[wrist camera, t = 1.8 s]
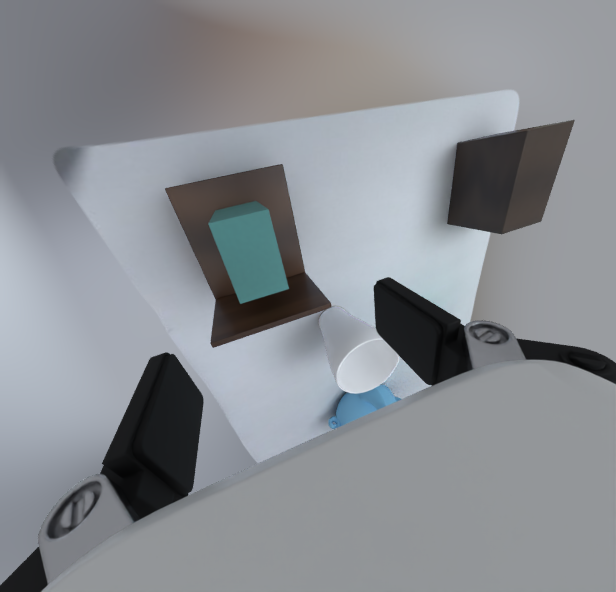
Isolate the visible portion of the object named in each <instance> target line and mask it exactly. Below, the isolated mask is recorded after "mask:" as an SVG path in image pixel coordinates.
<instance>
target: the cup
mask: <svg viewBox="0 0 616 592" xmlns="http://www.w3.org/2000/svg"><path fill="white" fill-rule="evenodd" d="M319 327H320V329H321V331H322V334H323V338H324V342H325V347H326V353H327V357H328V361H329V364H330V368H331V370H332V373H333V375H334V377H335V380H336V382H337V384H338V386H339V387H340V388H341V389H342V390H343V391H345V392H348V393H355V394H357V393H364V392H367V391H369V390H372V389H374V388H376V387H377V386H379V385H380V384H382V383H383V382H384V381H386V380H387V379H388V377H389V376H390V375H391V374H392V373H393V371H394V370H395V368H396V366H397V364H398V361H399V355H398V354H397V353H396V352H395V351H394V350H393V349H392V348H391V347H390V346H389V345H388V344H387V343H386V342H385V341H384V340H383V339H382V338H381V337H380V335H379V334H378V333H377V331H376V328H374V327H373V326H371V325H369V324H368V323H366V322H364V321H362V320H360V319H358V318H356V317H354V316H352V315H351V314H349V313H348V312H347V311H346V310H344V309H343V308H341V307H338V306H336V307H331V308H329V309H326V310H325V311H324V312H323V313H322V314H321V316H320V318H319Z"/></svg>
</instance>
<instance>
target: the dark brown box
mask: <svg viewBox="0 0 616 592" xmlns="http://www.w3.org/2000/svg"><path fill="white" fill-rule="evenodd" d="M573 124H574V120H571V121H566V122H560V123H555V124H549V125H544V126H539V127H533V128H528V129H522V130H516V131H511V132H505V133H500V134H495V135H490V136H486V137H481V138H477V139H472V140H468V141H463V142H459V143H458V144H457V152H456V160H455V168H454V176H453V184H452V192H451V200H450V208H449V215H448V223H447V224H450V225H456V226H461V227H466V228H471V229H477V230H482V231H487V232H493V233H498V234H504V233H507V232H510V231H513V230H516V229H519V228H522V227H525V226H529V225H532V224H535V223H538V222H541V220H542V217H543V214H544V211H545V208H546V205H547V202H548V199H549V196H550V193H551V190H552V187H553V184H554V181H555V178H556V175H557V172H558V169H559V165H560V163H561V160H562V157H563V154H564V151H565V148H566V145H567V142H568V139H569V136H570V132H571V130H572V127H573Z"/></svg>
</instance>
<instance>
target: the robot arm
mask: <svg viewBox="0 0 616 592" xmlns="http://www.w3.org/2000/svg"><path fill="white" fill-rule="evenodd" d="M374 302H375V322H376V331H377V333H378V334H379V335H380V337H381V338H382V339H383V340H384V341H385V342H386V343H387V344H388V345H389V346H390V347H391V348H392V349H393V350H394V351H395V352H396V353H397V354H398V355H399V356H400V357H401V358H402V359H403V360H404V361H405V362H406V363H407V364H408V365H409V366H410V367H411V368H412V370H413V371H414V372H415V373H416V374H417V375H418V376H419V377H420V378H421V379H422V380H423V381H424V382H425V383H426V384H428V385H432V386H431V387H429V388H426V389H424V390H422V391H419V392H417V393H415V394H413V395H410V396H408V397H406V398H403V399H401V400H399V401H397V402H394V403H392V404H390V405H388V406H385V407H383V408H381V409H379V410H376V411H374V412H372V413H369V414H367V415H365V416H363V417H360V418H358V419H356V420H354V421H351V422H349V423H347V424H345V425H343V426H340V427H338V428H336V429H334V430H331V431H329V432H327V433H325V434H322V435H320V436H318V437H316V438H314V439H311V440H309V441H307V442H305V443H302V444H300V445H298V446H296V447H293V448H291V449H289V450H287V451H285V452H282V453H280V454H278V455H276V456H274V457H271V458H269V459H267V460H265V461H263V462H260V463H258V464H256V465H254V466H252V467H249V468H247V469H245V470H243V471H241V472H238V473H236V474H234V475H232V476H230V477H227V478H225V479H223V480H221V481H218V482H216V483H214V484H212V485H210V486H208V487H206V488H204V489H201V490H199V491H197V492H195V493H193V494H191V495H189V496H188V493H189V492H191V491H192V488H193V484H194V476H195V467H196V459H197V451H198V443H199V434H200V427H201V418H202V410H203V396H202V394H201V392H200V391H199V389H198V388H197V386H196V385H195V384H194V382H193V381H192V379H191V378H190V376H189V375H188V373H187V372H186V371H185V369H184V368H183V366H182V365H181V363H180V362H179V360H178V359H177V357H176V356H175V355H174V354H171V355H170V354H169V353H163V354H160V355H157V356H154V357H152V358H150V360H149V362H148V364H147V366H146V368H145V370H144V373H143V375H142V377H141V379H140V381H139V384H138V386H137V388H136V390H135V393H134V395H133V397H132V399H131V401H130V404H129V406H128V408H127V410H126V412H125V414H124V417H123V419H122V421H121V423H120V425H119V427H118V430H117V432H116V434H115V436H114V439H113V441H112V443H111V445H110V447H109V449H108V452H107V454H106V456H105V458H104V460H103V463H102V464H103V465H104V466H103V468H102V471H101V473H100V474H96V475H93V476H90V477H87V478H86V479H84V480H82V481H80V482H79V483H78V484H76V485H75V486H74V487H73V488H71V489H70V490H69V491H68V492H67V493H66V494H65V495H64V496H63V497H62V498H61V499H60V500H59V501H58V502H57V503H56V505H55V506H54V507H53V508H52V509H51V511H50V512H49V514H48V515H47V517H46V518H45V520H44V522H43V524H42V526H41V529H40V531H39V534H38V544H39V547H38V548H37V549H36V550H35V551H34V552H33V553H32V554H31V555H30V556H29V557H28V558H27V559H26V560H25V561H24V562H23V563H22V564H21V565H20V566H19V567H18V568H17V569H16V570H15V571H14V572H13V573H12V575H10V576H9V577H8V578H7V579H6V580H5V581H4V582H3V583H2V584H1V585H0V592H616V363H615V362H613V361H612V360H610V359H609V358H607V357H606V356H604V355H601V354H599V353H597V352H594V351H591V350H588V349H585V348H580V347H574V346H567V345H559V344H552V343H545V342H538V341H531V340H522V339H516V338H515V336H514V334H513V333H512V332H511V331H510V330H509V329H508V328H506V327H504V326H502V325H500V324H497V323H494V322H490V321H473V322H470V323H468V324H466V326H464V325H462V324H460V322H461V320H460V319H458V318H456V317H455V316H453V315H451V314H450V313H448V312H446V311H445V310H443V309H441V308H440V307H438V306H436V305H435V304H433V303H431V302H430V301H428V300H426V299H425V298H423V297H421V296H420V295H418V294H416V293H415V292H413V291H411V290H410V289H408V288H406V287H405V286H403V285H401V284H400V283H398V282H396V281H395V280H393V279H391V278H389V277H387V278H384V279H382V280H379V281H377V283H376V285H374Z"/></svg>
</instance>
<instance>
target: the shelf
mask: <svg viewBox="0 0 616 592" xmlns="http://www.w3.org/2000/svg"><path fill="white" fill-rule="evenodd" d="M165 190H166V193H167V195H168V197H169V199H170V201H171V203H172V206H173V208H174V210H175V212H176V214H177V216H178V219H179V221H180V223H181V225H182V227H183V229H184V232H185V234H186V236H187V238H188V240H189V243H190V245H191V247H192V249H193V251H194V253H195V256H196V258H197V260H198V262H199V264H200V266H201V269H202V271H203V273H204V275H205V277H206V279H207V282H208V284H209V286H210V288H211V290H212V292H213V295H214V297H215V299H216V302H215V310H214V319H213V327H212V335H211V345H212V347H213V348H214V347H217V346H220V345H223V344H226V343H229V342H232V341H235V340H237V339H240V338H243V337H246V336H249V335H252V334H255V333H258V332H261V331H264V330H267V329H270V328H273V327H276V326H279V325H282V324H285V323H288V322H290V321H293V320H296V319H299V318H302V317H305V316H308V315H311V314H314V313H317V312H320V311H323V310H326V309H329V308H331V303H330V301H329V300H328V299H327V298H326V297H325V295H324V294H323V293H322V292H321V291H320V290H319V288H318V287H317V286H316V285H315V284H314V282H313V281H312V280H311V279H310V278H309V276H308V275H307V274H306V273H305V269H304V264H303V260H302V255H301V250H300V245H299V240H298V236H297V231H296V226H295V221H294V216H293V212H292V207H291V202H290V197H289V193H288V188H287V183H286V178H285V173H284V169H283V164H280V165H275V166H270V167H265V168H261V169H256V170H251V171H246V172H241V173H237V174H232V175H227V176H222V177H217V178H213V179H208V180H203V181H198V182H193V183H189V184H184V185H179V186H174V187H169V188H165ZM253 201H257V202H258V203H260V204H261V205H263V206H264V207H266V208H267V209H268V210H269V213H270V217H271V221H272V225H273V229H274V233H275V237H276V240H277V244H278V248H279V252H280V256H281V260H282V264H283V267H284V271H285V275H286V279H287V283H288V287H289V289H287V290H284V291H280V292H277V293H274V294H271V295H268V296H264V297H261V298H258V299H255V300H252V301H248V302H245V303H242V304H240V302H239V300H238V297H237V295H236V292H235V290H234V287H233V285H232V282H231V280H230V277H229V275H228V272H227V270H226V267H225V265H224V262H223V260H222V257H221V255H220V252H219V250H218V247H217V245H216V242H215V240H214V237H213V235H212V232H211V230H210V227H209V225H208V223H209V221H210V220H211V218H212V216H213V214H214V212H215V210H219V209H224V208H228V207H232V206H236V205H241V204H245V203H249V202H253Z"/></svg>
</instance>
